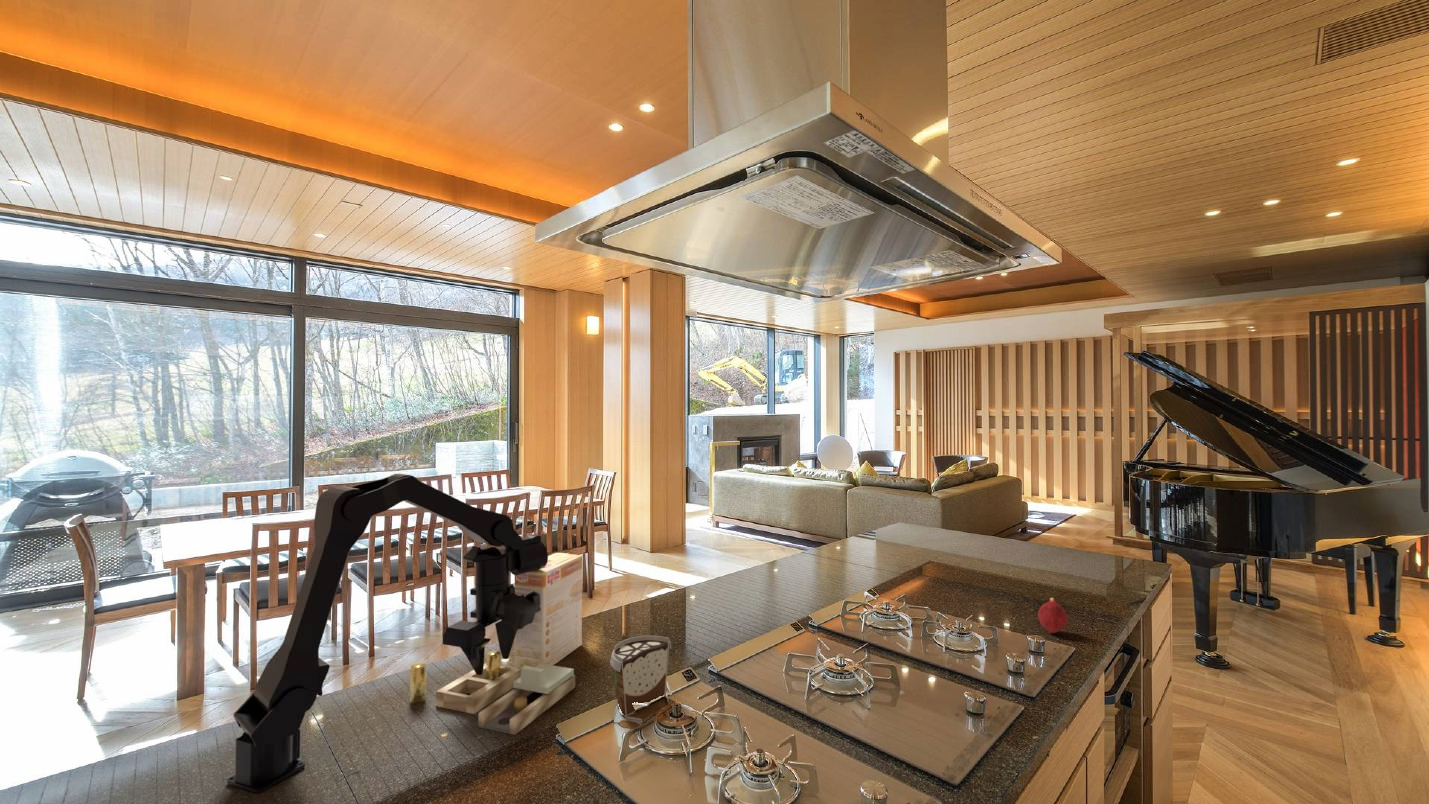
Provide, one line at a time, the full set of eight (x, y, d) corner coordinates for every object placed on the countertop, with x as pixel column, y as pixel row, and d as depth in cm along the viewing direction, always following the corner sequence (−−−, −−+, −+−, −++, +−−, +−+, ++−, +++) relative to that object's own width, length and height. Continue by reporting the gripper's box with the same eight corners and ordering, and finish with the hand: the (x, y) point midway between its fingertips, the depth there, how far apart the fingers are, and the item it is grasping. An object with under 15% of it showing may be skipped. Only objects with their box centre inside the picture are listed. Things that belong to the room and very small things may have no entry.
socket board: (474, 714, 98) (474, 698, 98) (436, 706, 101) (436, 691, 101) (520, 683, 110) (520, 669, 110) (484, 676, 112) (485, 663, 112)
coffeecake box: (554, 641, 130) (555, 551, 130) (583, 645, 128) (584, 554, 128) (511, 669, 115) (512, 568, 116) (542, 674, 113) (544, 572, 114)
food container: (647, 683, 110) (647, 629, 110) (671, 693, 106) (671, 637, 106) (594, 709, 100) (595, 649, 100) (618, 721, 96) (619, 659, 96)
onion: (1072, 638, 133) (1072, 602, 133) (1046, 637, 133) (1046, 602, 133) (1058, 628, 138) (1058, 594, 139) (1033, 628, 139) (1033, 594, 139)
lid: (547, 694, 100) (547, 673, 100) (513, 687, 102) (513, 667, 102) (573, 674, 108) (573, 655, 108) (541, 668, 110) (541, 649, 110)
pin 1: (417, 704, 101) (418, 669, 101) (406, 702, 102) (407, 667, 102) (428, 698, 104) (429, 664, 104) (418, 696, 104) (418, 662, 104)
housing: (514, 734, 92) (515, 720, 92) (478, 726, 94) (478, 713, 94) (575, 687, 108) (575, 675, 108) (542, 681, 110) (542, 669, 110)
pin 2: (483, 688, 107) (483, 655, 107) (492, 682, 110) (492, 650, 110) (494, 690, 107) (494, 657, 107) (503, 684, 109) (503, 651, 109)
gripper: (493, 602, 97) (494, 697, 97) (559, 571, 114) (559, 651, 114) (439, 595, 100) (440, 687, 100) (511, 566, 118) (512, 644, 118)
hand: (492, 666), depth 108 cm, fingers open, 7 cm apart
